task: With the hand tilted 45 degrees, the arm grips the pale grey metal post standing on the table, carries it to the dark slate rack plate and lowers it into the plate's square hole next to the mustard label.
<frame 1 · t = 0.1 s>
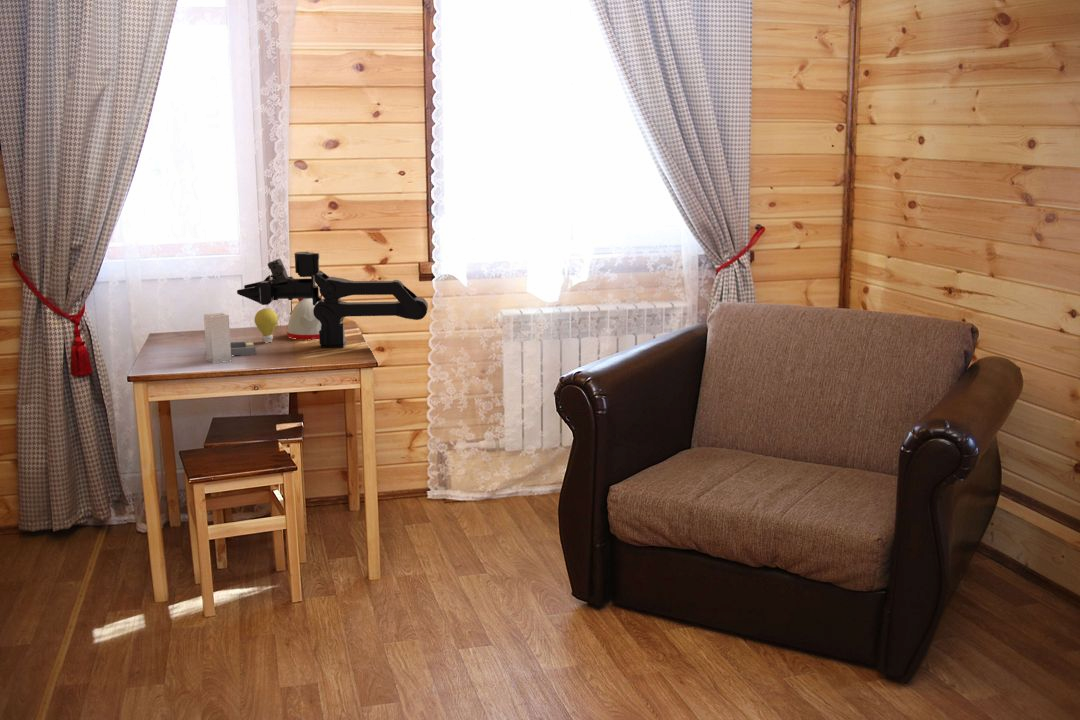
hand: (240, 289, 301), 17 cm above the table, tool horizontal, fingers open, 9 cm apart
clip post: (219, 360, 287), on the table
rack plate: (232, 352, 297), on the table
kitchen timer: (311, 336, 321), on the table
light bulb: (267, 343, 311), on the table
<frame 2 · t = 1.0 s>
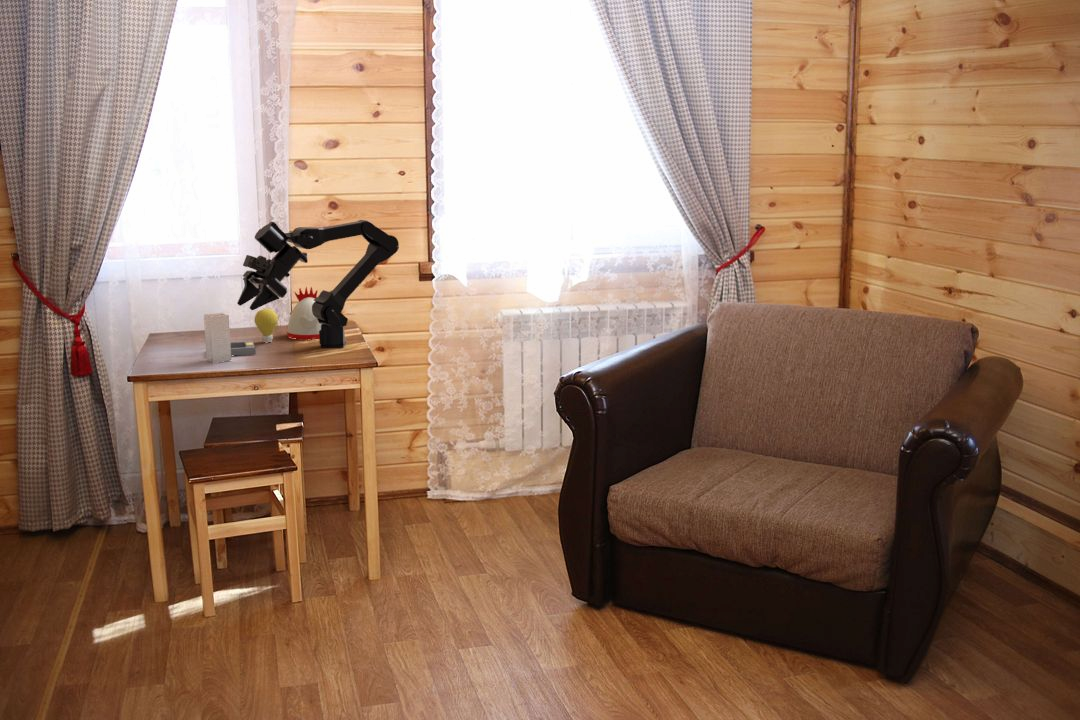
hand: (244, 306, 289), 14 cm above the table, tool tilted 45°, fingers open, 9 cm apart
nothing on the table moved.
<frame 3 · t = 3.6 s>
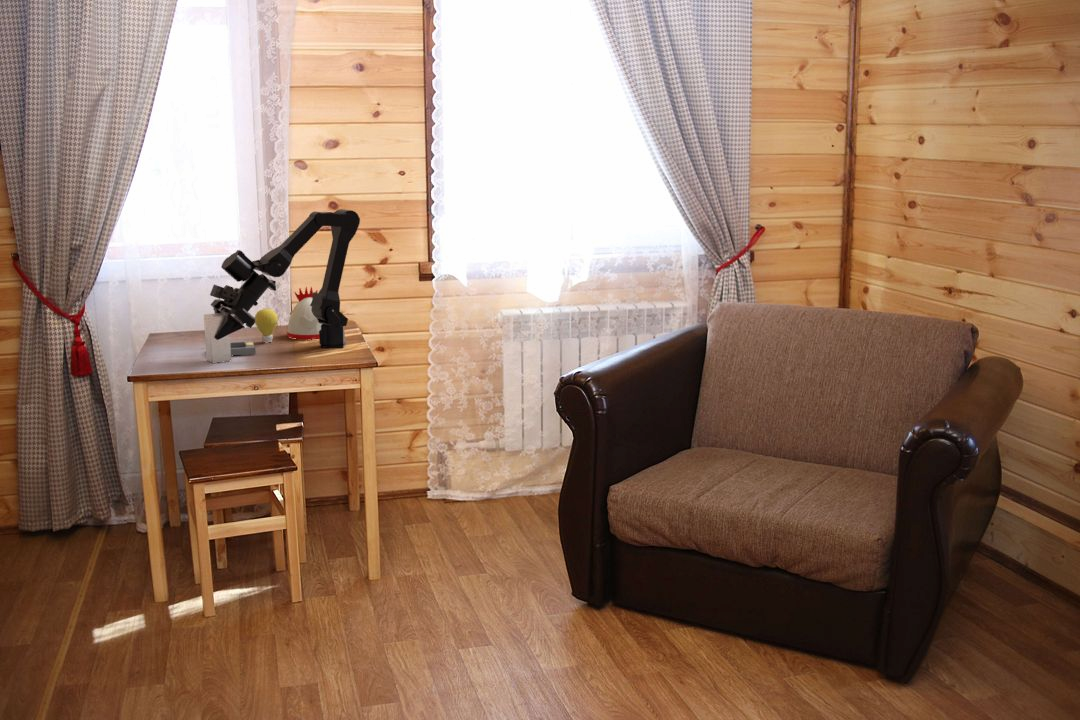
hand: (212, 337, 285), 7 cm above the table, tool tilted 45°, fingers closed on clip post, 5 cm apart
clip post: (219, 360, 287), on the table, touching gripper
everything else where it was.
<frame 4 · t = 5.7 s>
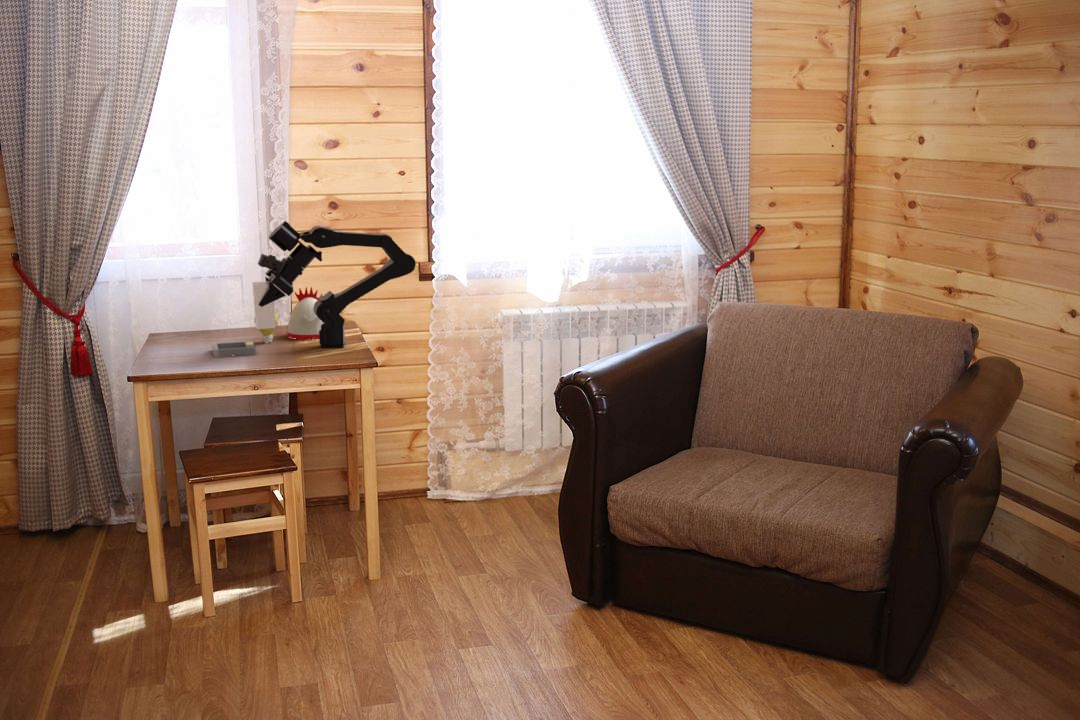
hand: (259, 304, 297), 13 cm above the table, tool tilted 45°, fingers closed on clip post, 5 cm apart
clip post: (265, 327, 299), point 7 cm above the table, touching gripper
everything else where it was.
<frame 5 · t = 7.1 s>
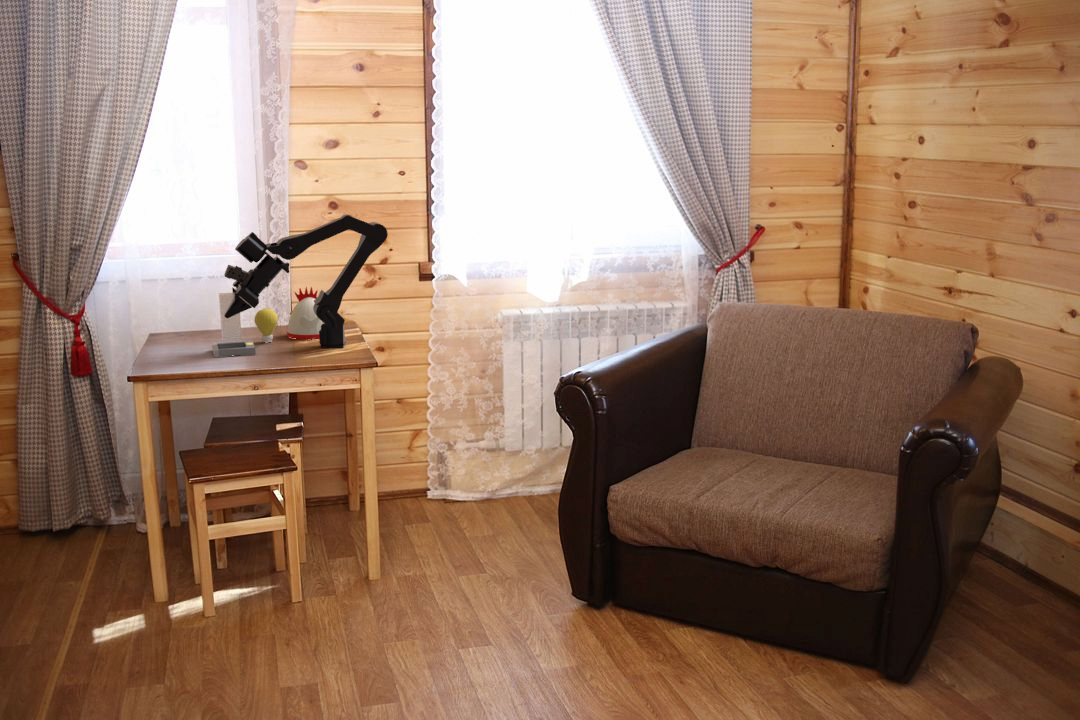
hand: (225, 315, 294), 11 cm above the table, tool tilted 45°, fingers closed on clip post, 5 cm apart
clip post: (231, 338, 296), point 4 cm above the table, touching gripper
everything else where it was.
when the fingers open (8 cm above the table, at t = 8.0 s): clip post drops 1 cm, resting in rack plate.
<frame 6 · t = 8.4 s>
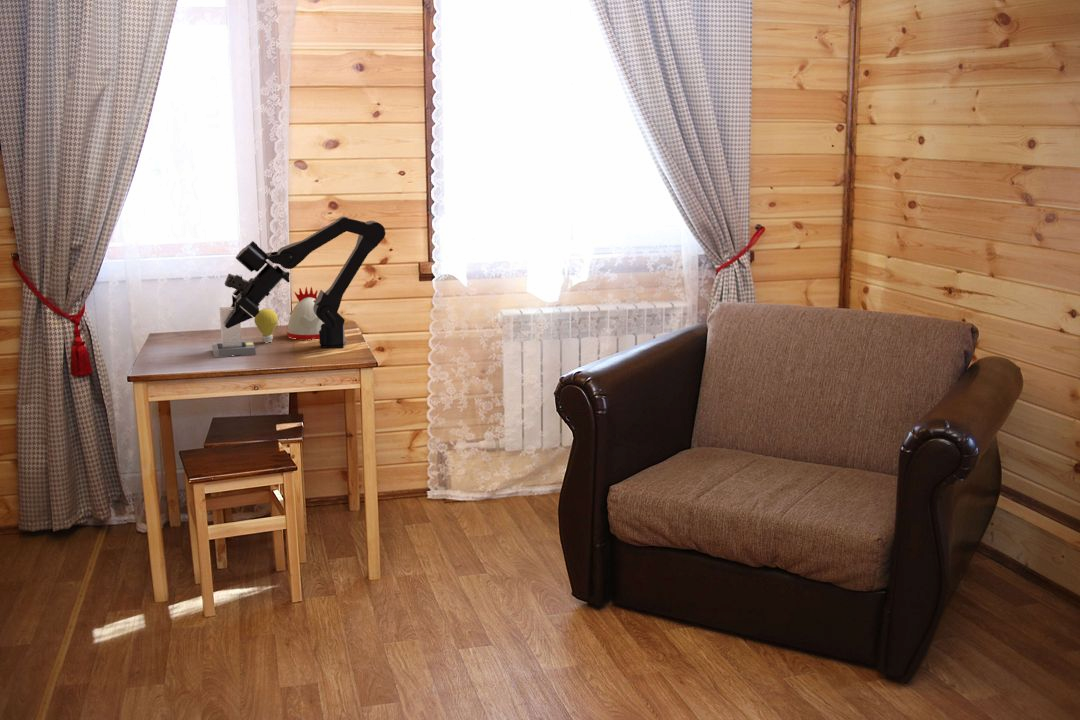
hand: (225, 324, 295), 8 cm above the table, tool tilted 45°, fingers open, 9 cm apart
clip post: (232, 352, 297), resting in rack plate
everything else where it was.
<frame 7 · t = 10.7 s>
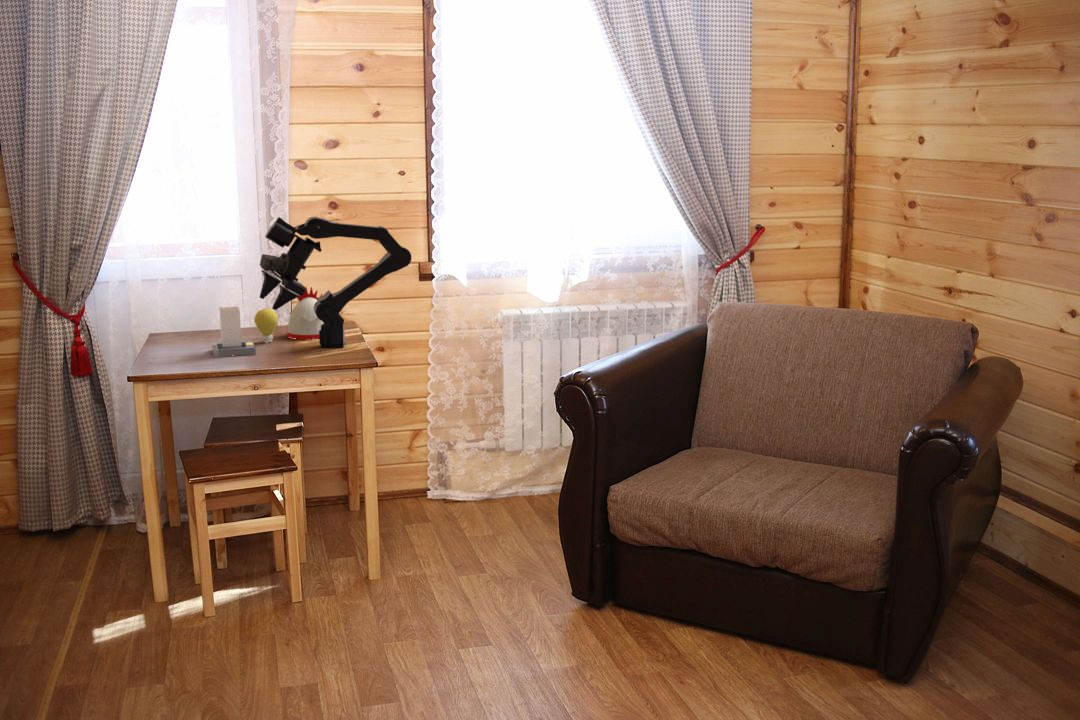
hand: (267, 303, 298), 13 cm above the table, tool tilted 35°, fingers open, 9 cm apart
nothing on the table moved.
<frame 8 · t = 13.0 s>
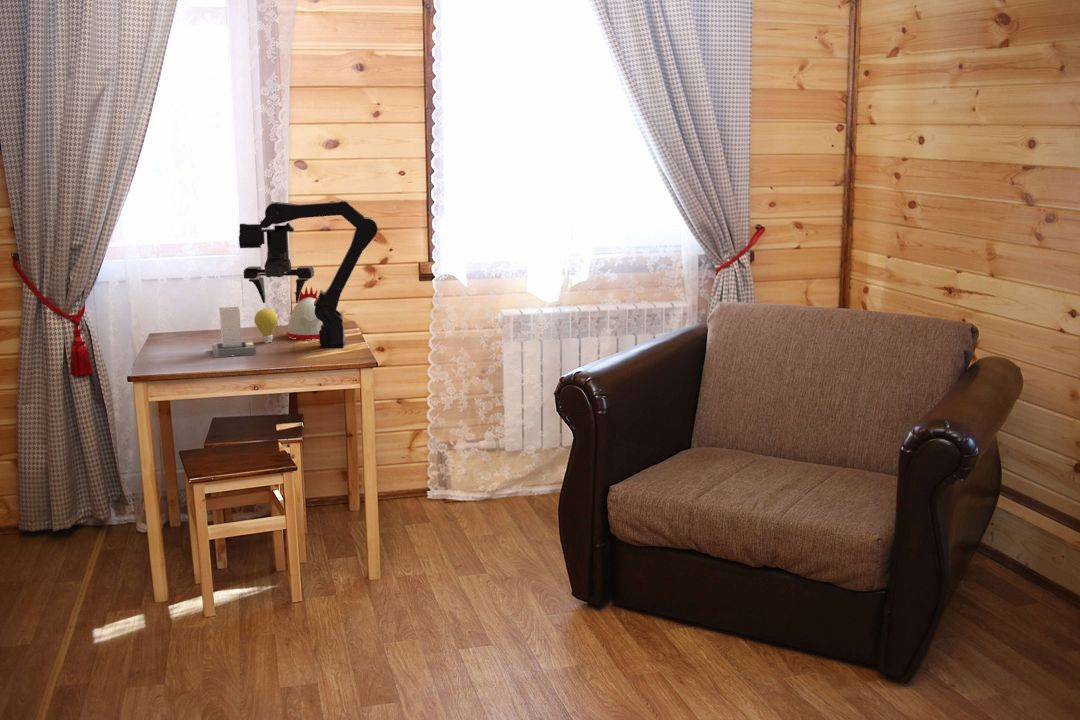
hand: (280, 302, 301), 13 cm above the table, tool pointing down, fingers open, 9 cm apart
nothing on the table moved.
at the end: clip post 0.0 cm off-centre on the rack plate, point 0.0 cm above the rack plate's base; clip post tilted 0°; the gripper is holding nothing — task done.
